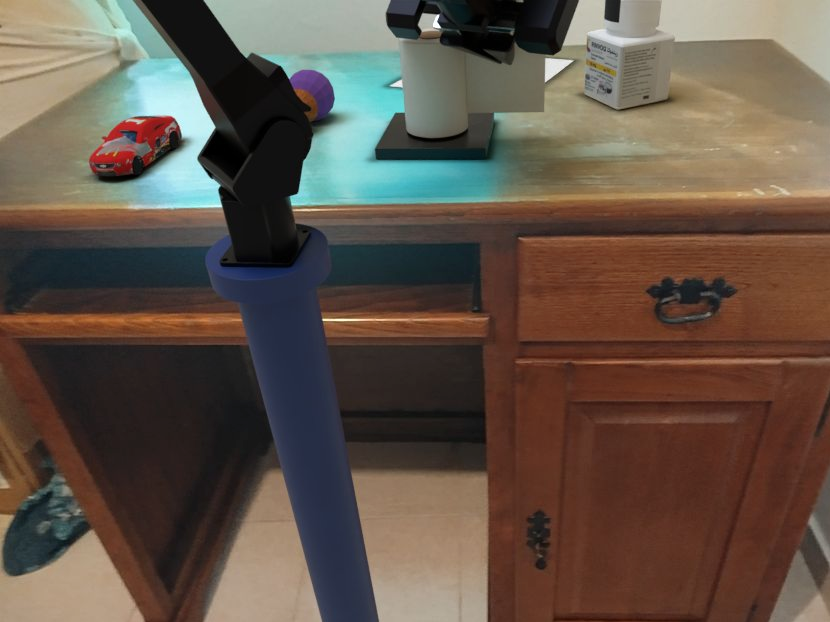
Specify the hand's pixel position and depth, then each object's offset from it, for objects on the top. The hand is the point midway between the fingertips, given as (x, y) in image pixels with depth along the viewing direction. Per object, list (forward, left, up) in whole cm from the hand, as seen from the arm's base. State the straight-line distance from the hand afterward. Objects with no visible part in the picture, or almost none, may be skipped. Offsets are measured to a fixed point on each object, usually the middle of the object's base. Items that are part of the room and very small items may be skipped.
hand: (506, 60), depth 77 cm
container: (+15, -14, -9) cm, 23 cm away
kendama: (0, +25, -9) cm, 26 cm away
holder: (0, +8, -9) cm, 12 cm away
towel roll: (+1, +4, -7) cm, 8 cm away
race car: (-6, +41, -9) cm, 42 cm away
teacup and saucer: (+27, +5, -9) cm, 29 cm away
